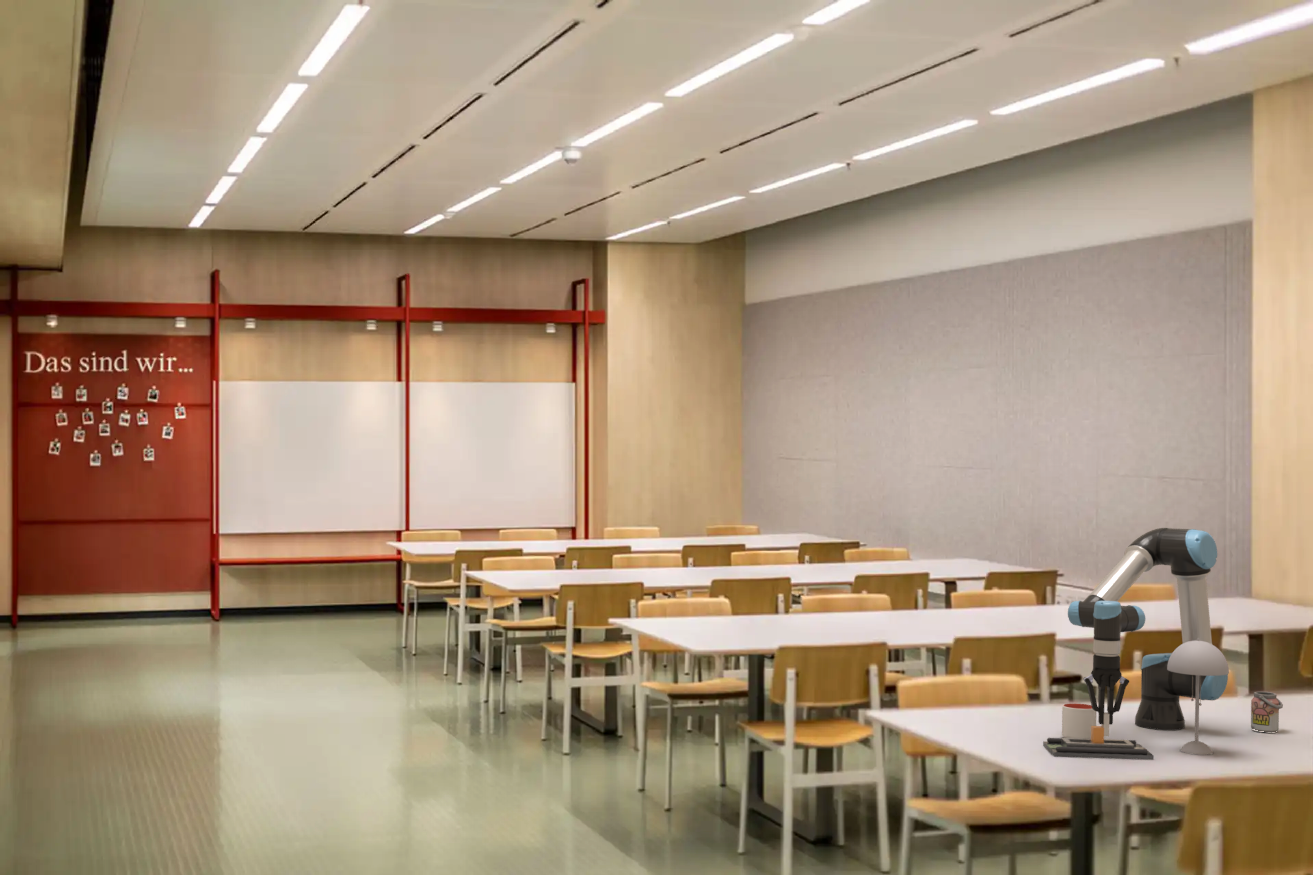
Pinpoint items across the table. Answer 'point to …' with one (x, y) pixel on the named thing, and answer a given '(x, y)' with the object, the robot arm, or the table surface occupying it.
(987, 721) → the table surface
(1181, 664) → the lamp
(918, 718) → the table surface
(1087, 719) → the cup
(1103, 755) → the panel
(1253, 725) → the paint can
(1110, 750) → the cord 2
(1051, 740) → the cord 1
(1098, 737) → the toggle
